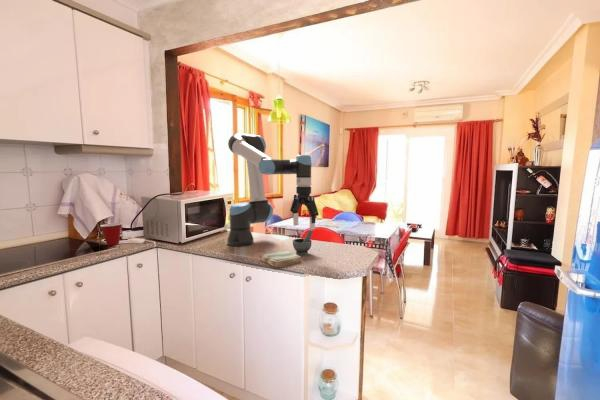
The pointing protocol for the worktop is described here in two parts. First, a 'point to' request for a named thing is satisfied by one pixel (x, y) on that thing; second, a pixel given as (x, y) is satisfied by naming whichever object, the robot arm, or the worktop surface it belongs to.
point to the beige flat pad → (280, 258)
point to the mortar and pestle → (303, 244)
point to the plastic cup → (112, 233)
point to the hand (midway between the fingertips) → (303, 227)
